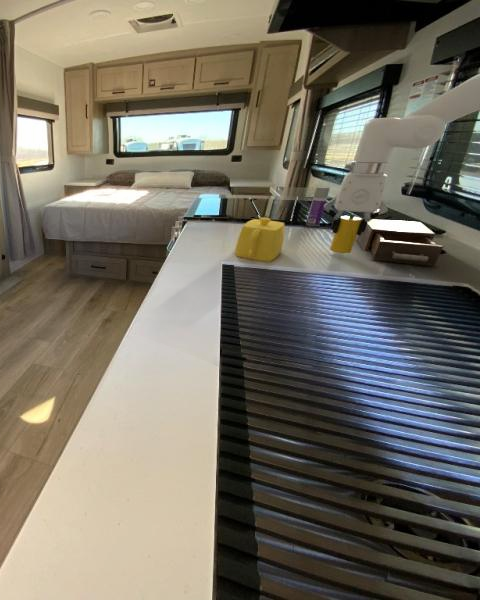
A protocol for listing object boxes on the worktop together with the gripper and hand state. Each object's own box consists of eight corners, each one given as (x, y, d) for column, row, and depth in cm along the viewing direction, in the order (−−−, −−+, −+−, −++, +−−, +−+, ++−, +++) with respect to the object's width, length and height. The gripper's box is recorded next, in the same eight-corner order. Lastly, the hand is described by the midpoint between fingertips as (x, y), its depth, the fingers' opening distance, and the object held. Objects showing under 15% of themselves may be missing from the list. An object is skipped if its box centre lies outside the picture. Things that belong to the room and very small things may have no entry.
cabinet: (424, 258, 100) (435, 233, 97) (363, 252, 107) (372, 229, 103) (410, 244, 111) (420, 222, 108) (356, 239, 118) (364, 218, 115)
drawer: (438, 271, 89) (449, 251, 86) (375, 264, 95) (383, 245, 93) (419, 251, 103) (427, 233, 100) (365, 246, 109) (371, 229, 106)
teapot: (248, 242, 120) (255, 209, 115) (286, 248, 113) (295, 213, 107) (228, 257, 107) (234, 221, 102) (270, 265, 100) (279, 227, 94)
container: (321, 226, 135) (333, 187, 128) (310, 226, 135) (320, 188, 129) (314, 223, 139) (325, 186, 133) (303, 223, 140) (313, 186, 133)
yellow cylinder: (349, 249, 103) (362, 212, 98) (351, 254, 99) (365, 216, 94) (329, 246, 105) (340, 211, 100) (330, 251, 101) (342, 215, 96)
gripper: (331, 169, 92) (312, 233, 100) (412, 170, 84) (385, 239, 93) (329, 166, 98) (311, 227, 106) (405, 167, 90) (379, 233, 98)
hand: (346, 232), depth 99 cm, fingers closed on yellow cylinder, 5 cm apart
